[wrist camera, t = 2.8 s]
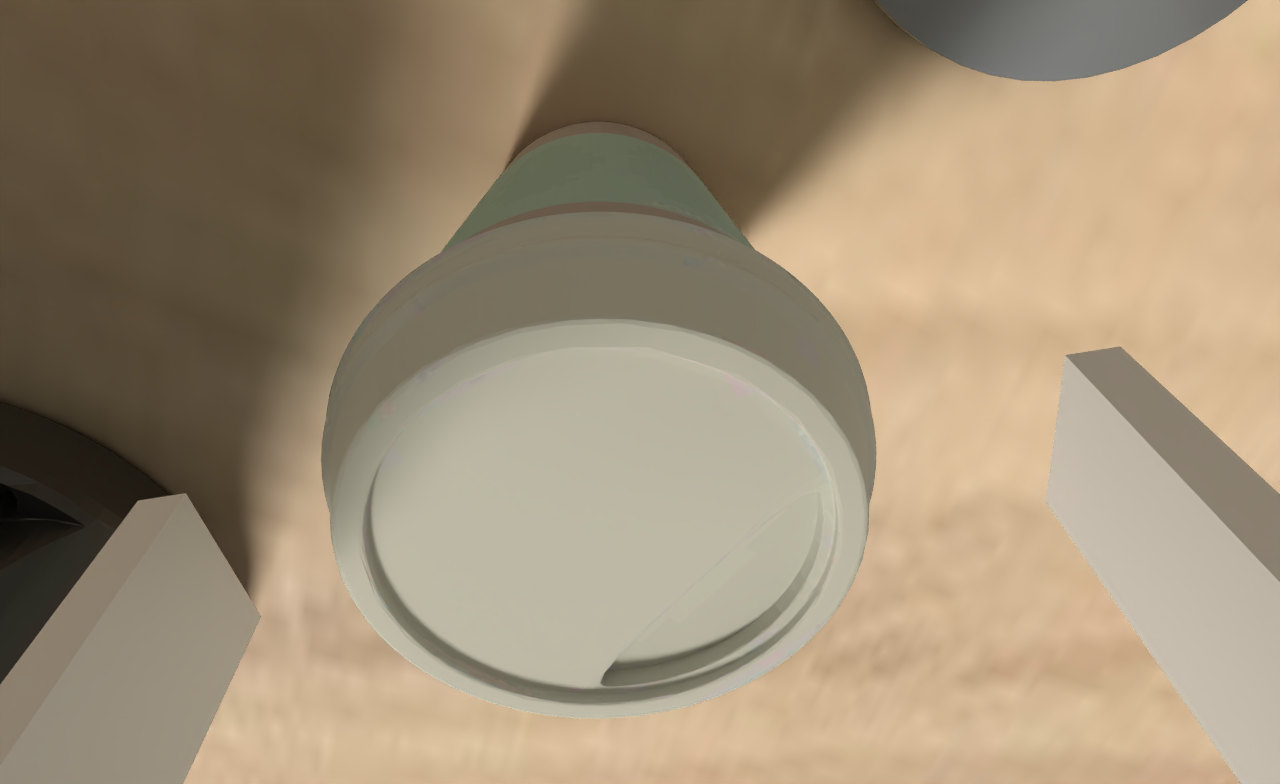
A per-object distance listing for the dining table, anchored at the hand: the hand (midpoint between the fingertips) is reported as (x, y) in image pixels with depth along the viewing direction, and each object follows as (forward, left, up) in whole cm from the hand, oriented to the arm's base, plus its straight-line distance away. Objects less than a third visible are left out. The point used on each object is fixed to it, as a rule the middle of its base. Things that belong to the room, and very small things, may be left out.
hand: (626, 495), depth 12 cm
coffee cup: (0, 0, -11) cm, 11 cm away
